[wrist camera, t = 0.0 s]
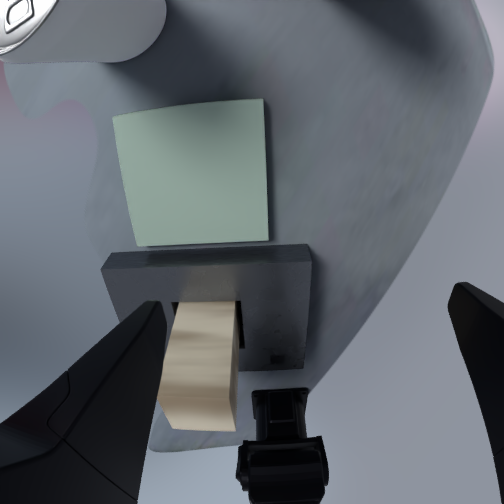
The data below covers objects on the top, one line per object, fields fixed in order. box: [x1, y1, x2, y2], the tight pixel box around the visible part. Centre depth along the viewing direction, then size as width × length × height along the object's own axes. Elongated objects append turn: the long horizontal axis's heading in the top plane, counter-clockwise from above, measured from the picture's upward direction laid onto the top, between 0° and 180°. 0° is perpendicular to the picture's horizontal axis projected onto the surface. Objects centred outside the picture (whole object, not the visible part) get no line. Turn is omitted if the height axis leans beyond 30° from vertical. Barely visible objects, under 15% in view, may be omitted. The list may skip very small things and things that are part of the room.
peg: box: [157, 301, 240, 431], centre depth 23 cm, size 4×4×11 cm
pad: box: [113, 98, 268, 247], centre depth 21 cm, size 10×10×1 cm
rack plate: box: [101, 244, 312, 371], centre depth 27 cm, size 12×16×3 cm
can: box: [0, 0, 166, 64], centre depth 11 cm, size 6×6×12 cm
